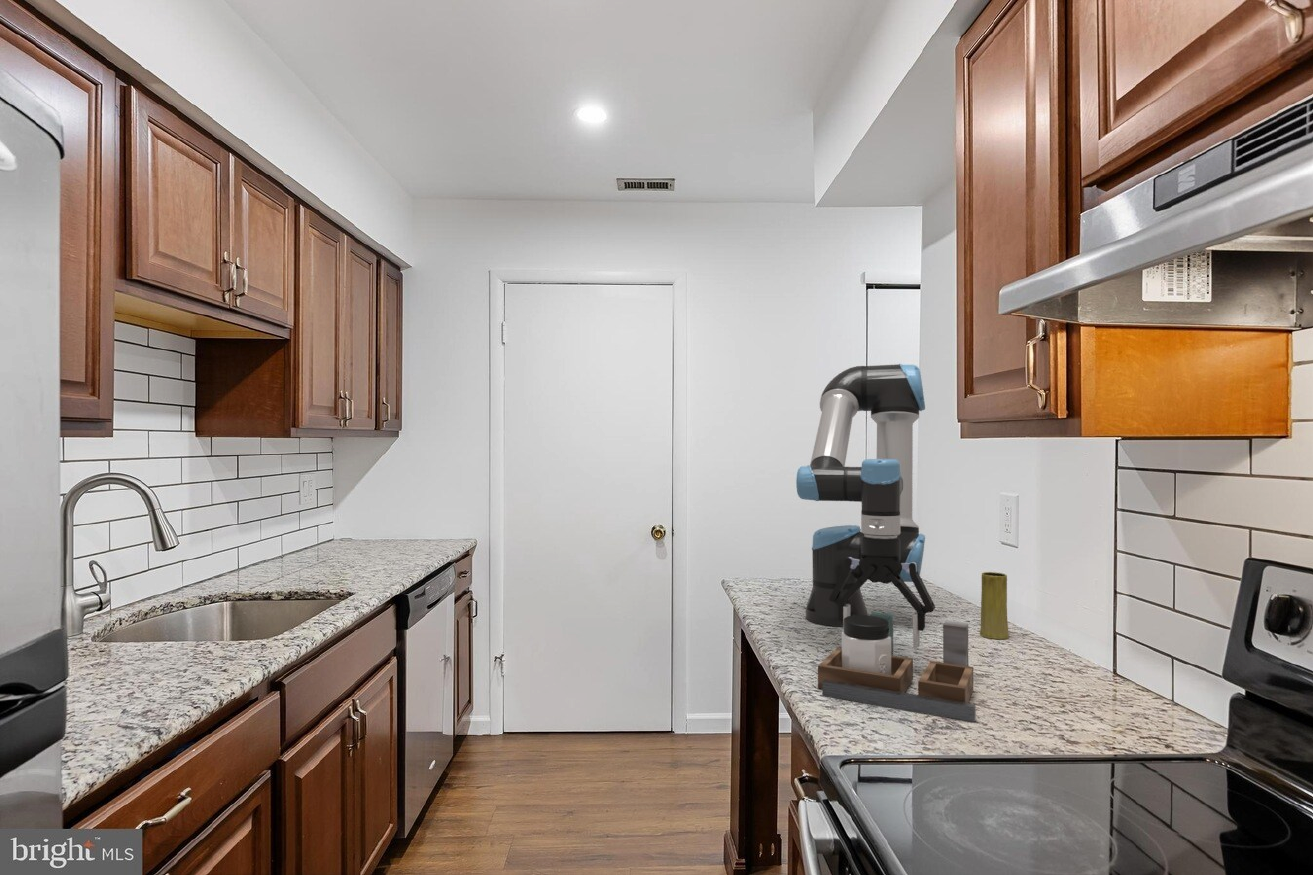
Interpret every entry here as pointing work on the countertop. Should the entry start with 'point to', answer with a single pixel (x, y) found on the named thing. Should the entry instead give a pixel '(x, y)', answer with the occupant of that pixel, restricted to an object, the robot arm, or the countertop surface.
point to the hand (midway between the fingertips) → (880, 642)
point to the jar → (866, 644)
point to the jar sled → (893, 682)
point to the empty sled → (950, 667)
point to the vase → (994, 606)
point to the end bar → (900, 700)
